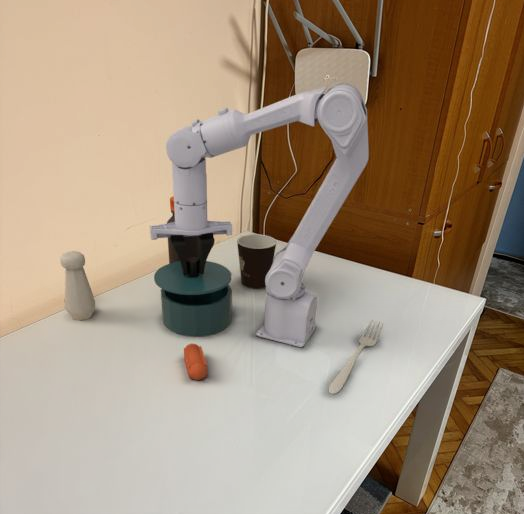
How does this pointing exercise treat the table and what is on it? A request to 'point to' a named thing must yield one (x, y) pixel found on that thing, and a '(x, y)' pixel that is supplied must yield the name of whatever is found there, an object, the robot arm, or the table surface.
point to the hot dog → (195, 362)
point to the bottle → (189, 240)
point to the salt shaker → (77, 287)
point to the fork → (354, 359)
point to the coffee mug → (255, 259)
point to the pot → (197, 312)
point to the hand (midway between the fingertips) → (193, 272)
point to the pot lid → (192, 277)
